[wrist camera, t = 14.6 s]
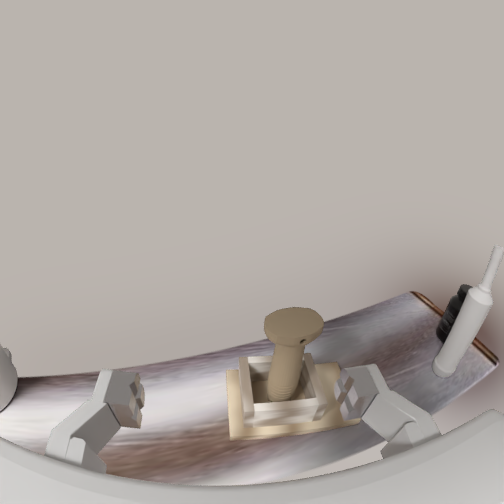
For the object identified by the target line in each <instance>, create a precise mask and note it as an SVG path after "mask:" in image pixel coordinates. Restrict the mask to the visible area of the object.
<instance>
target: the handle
mask: <svg viewBox="0 0 504 504" xmlns="http://www.w3.org/2000/svg"><path fill="white" fill-rule="evenodd" d="M323 326H324V321H323V319H322V317H321V316H320V315H319V314H318V313H317V312H316V311H314V310H312V309H309V308H299V307H293V308H286V309H281V310H277V311H275V312H273V313H271V314H269V315H268V316H266V318H265V323H264V330H265V334H266V336H267V337H268V339H269V340H270V341H272V342H273V343H275V344H276V345H275V349H274V354H273V358H272V362H271V366H270V370H269V375H268V385H267V390H268V394H267V398H268V400H269V401H270V403H271V402H283V401H291V399H292V396H293V395H294V393H295V390H296V388H297V385H298V382H299V378H300V372H301V366H302V360H303V354H304V348H305V345H307V344H309V343H310V342H312V341H313V340H315V339H316V338H317V337H318V336H319V335H320V334H321V333H322V330H323Z"/></svg>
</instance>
